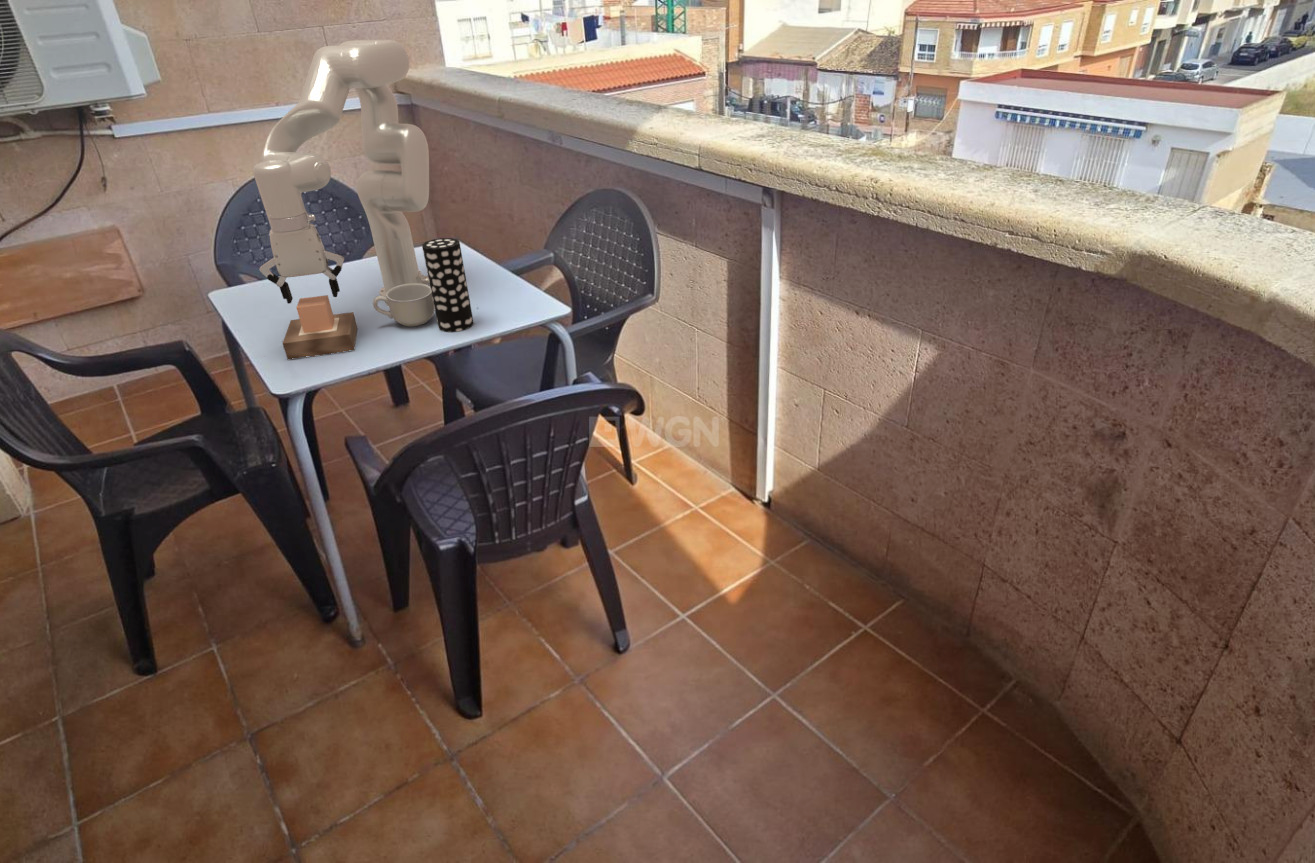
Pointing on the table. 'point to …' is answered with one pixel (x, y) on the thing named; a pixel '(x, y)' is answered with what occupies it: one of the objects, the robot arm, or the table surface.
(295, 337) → the plinth
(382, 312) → the teacup
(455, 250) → the spotted tube
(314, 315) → the cube
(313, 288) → the table surface
